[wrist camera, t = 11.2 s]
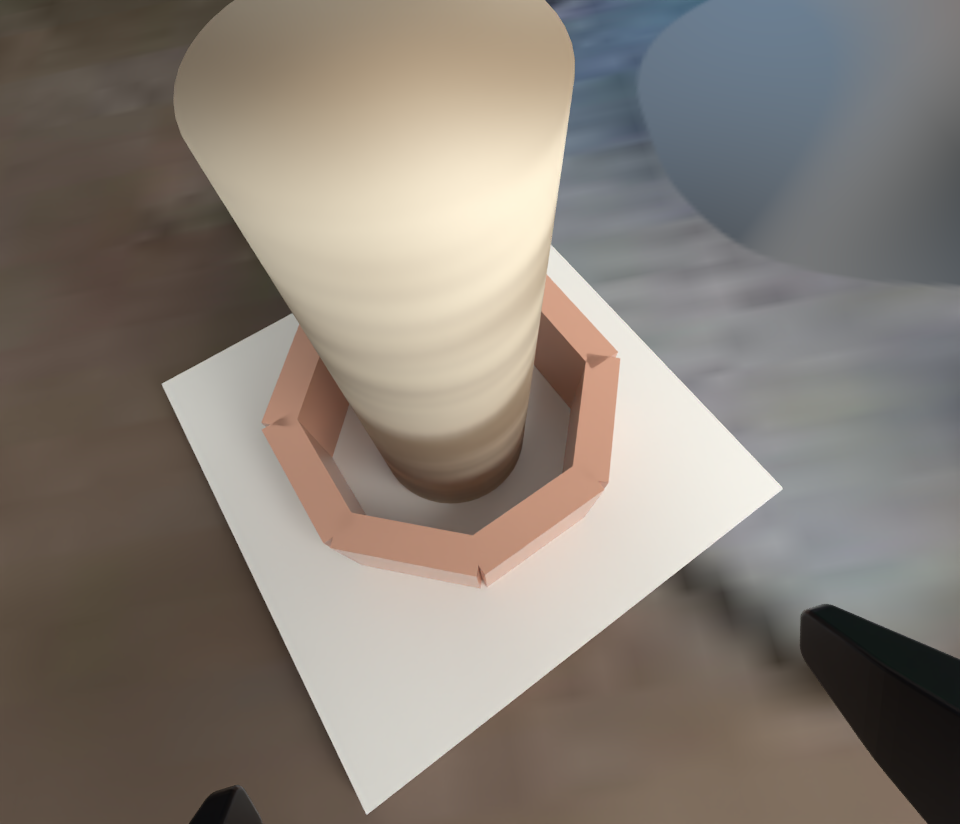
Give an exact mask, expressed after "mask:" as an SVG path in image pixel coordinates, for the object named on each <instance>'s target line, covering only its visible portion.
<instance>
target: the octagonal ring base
mask: <svg viewBox="0 0 960 824" xmlns="http://www.w3.org/2000/svg"><path fill="white" fill-rule="evenodd" d="M162 386H163V388H164V390H165V392H166V394H167V396H168V399H169V401H170V403H171V405H172V407H173V409H174V411H175V413H176V415H177V418H178V420H179V422H180V424H181V426H182V428H183V430H184V432H185V434H186V436H187V439H188V441H189V443H190V445H191V447H192V449H193V451H194V453H195V455H196V457H197V460H198V462H199V464H200V466H201V468H202V470H203V472H204V474H205V476H206V478H207V481H208V483H209V485H210V487H211V489H212V491H213V493H214V495H215V497H216V499H217V502H218V504H219V506H220V508H221V510H222V512H223V514H224V516H225V518H226V521H227V523H228V525H229V527H230V529H231V531H232V533H233V535H234V537H235V539H236V542H237V544H238V546H239V548H240V550H241V552H242V554H243V556H244V558H245V560H246V563H247V565H248V567H249V569H250V571H251V573H252V575H253V577H254V579H255V581H256V584H257V586H258V588H259V590H260V592H261V594H262V596H263V598H264V600H265V602H266V605H267V607H268V609H269V611H270V613H271V615H272V617H273V619H274V621H275V624H276V626H277V628H278V630H279V632H280V634H281V636H282V638H283V640H284V642H285V645H286V647H287V649H288V651H289V653H290V655H291V657H292V659H293V661H294V663H295V666H296V668H297V670H298V672H299V674H300V676H301V678H302V680H303V682H304V684H305V687H306V689H307V691H308V693H309V695H310V697H311V699H312V701H313V703H314V706H315V708H316V710H317V712H318V714H319V716H320V718H321V720H322V722H323V724H324V727H325V729H326V731H327V733H328V735H329V737H330V739H331V741H332V743H333V745H334V748H335V750H336V752H337V754H338V756H339V758H340V760H341V762H342V764H343V766H344V769H345V771H346V773H347V775H348V777H349V779H350V781H351V783H352V785H353V787H354V790H355V792H356V794H357V796H358V798H359V800H360V802H361V804H362V806H363V809H364V811H365V813H366V815H367V814H368V813H370V812H371V811H372V810H374V809H375V808H376V807H377V806H379V805H380V804H381V803H382V802H384V801H385V800H386V799H388V798H389V797H390V796H391V795H393V794H394V793H395V792H397V791H398V790H399V789H400V788H402V787H403V786H404V785H405V784H407V783H408V782H409V781H411V780H412V779H413V778H414V777H416V776H417V775H418V774H420V773H421V772H422V771H423V770H425V769H426V768H427V767H428V766H430V765H431V764H432V763H434V762H435V761H436V760H437V759H439V758H440V757H441V756H442V755H444V754H445V753H446V752H448V751H449V750H450V749H451V748H453V747H454V746H455V745H457V744H458V743H459V742H460V741H462V740H463V739H464V738H465V737H467V736H468V735H469V734H471V733H472V732H473V731H474V730H476V729H477V728H478V727H480V726H481V725H482V724H483V723H485V722H486V721H487V720H488V719H490V718H491V717H492V716H494V715H495V714H496V713H497V712H499V711H500V710H501V709H502V708H504V707H505V706H506V705H508V704H509V703H510V702H511V701H513V700H514V699H515V698H517V697H518V696H519V695H520V694H522V693H523V692H524V691H525V690H527V689H528V688H529V687H531V686H532V685H533V684H534V683H536V682H537V681H538V680H539V679H541V678H542V677H543V676H545V675H546V674H547V673H548V672H550V671H551V670H552V669H554V668H555V667H556V666H557V665H559V664H560V663H561V662H562V661H564V660H565V659H566V658H568V657H569V656H570V655H571V654H573V653H574V652H575V651H577V650H578V649H579V648H580V647H582V646H583V645H584V644H585V643H587V642H588V641H589V640H591V639H592V638H593V637H594V636H596V635H597V634H598V633H599V632H601V631H602V630H603V629H605V628H606V627H607V626H608V625H610V624H611V623H612V622H614V621H615V620H616V619H617V618H619V617H620V616H621V615H622V614H624V613H625V612H626V611H628V610H629V609H630V608H631V607H633V606H634V605H635V604H637V603H638V602H639V601H640V600H642V599H643V598H644V597H645V596H647V595H648V594H649V593H651V592H652V591H653V590H654V589H656V588H657V587H658V586H659V585H661V584H662V583H663V582H665V581H666V580H667V579H668V578H670V577H671V576H672V575H674V574H675V573H676V572H677V571H679V570H680V569H681V568H682V567H684V566H685V565H686V564H688V563H689V562H690V561H691V560H693V559H694V558H695V557H696V556H698V555H699V554H700V553H702V552H703V551H704V550H705V549H707V548H708V547H709V546H711V545H712V544H713V543H714V542H716V541H717V540H718V539H719V538H721V537H722V536H723V535H725V534H726V533H727V532H728V531H730V530H731V529H732V528H734V527H735V526H736V525H737V524H739V523H740V522H741V521H742V520H744V519H745V518H746V517H748V516H749V515H750V514H751V513H753V512H754V511H755V510H756V509H758V508H759V507H760V506H762V505H763V504H764V503H765V502H767V501H768V500H769V499H771V498H772V497H773V496H774V495H776V494H777V493H778V492H779V491H781V490H782V489H783V488H782V487H781V486H780V485H779V484H778V482H777V481H776V480H775V479H774V478H773V477H772V476H771V475H770V474H769V473H768V472H767V471H766V470H765V469H764V468H763V467H762V466H761V465H760V464H759V463H758V462H757V460H756V459H755V458H754V457H753V456H752V455H751V454H750V453H749V452H748V451H747V450H746V449H745V448H744V447H743V446H742V445H741V444H740V443H739V442H738V441H737V439H736V438H735V437H734V436H733V435H732V434H731V433H730V432H729V431H728V430H727V429H726V428H725V427H724V426H723V425H722V424H721V423H720V422H719V421H718V420H717V418H716V417H715V416H714V415H713V414H712V413H711V412H710V411H709V410H708V409H707V408H706V407H705V406H704V405H703V404H702V403H701V402H700V401H699V400H698V399H697V397H696V396H695V395H694V394H693V393H692V392H691V391H690V390H689V389H688V388H687V387H686V386H685V385H684V384H683V383H682V382H681V381H680V380H679V379H678V378H677V376H676V375H675V374H674V373H673V372H672V371H671V370H670V369H669V368H668V367H667V366H666V365H665V364H664V363H663V362H662V361H661V360H660V359H659V358H658V357H657V355H656V354H655V353H654V352H653V351H652V350H651V349H650V348H649V347H648V346H647V345H646V344H645V343H644V342H643V341H642V340H641V339H640V338H639V337H638V336H637V334H636V333H635V332H634V331H633V330H632V329H631V328H630V327H629V326H628V325H627V324H626V323H625V322H624V321H623V320H622V319H621V318H620V317H619V316H618V315H617V313H616V312H615V311H614V310H613V309H612V308H611V307H610V306H609V305H608V304H607V303H606V302H605V301H604V300H603V299H602V298H601V297H600V296H599V295H598V294H597V292H596V291H595V290H594V289H593V288H592V287H591V286H590V285H589V284H588V283H587V282H586V281H585V280H584V279H583V278H582V277H581V276H580V275H579V274H578V273H577V271H576V270H575V269H574V268H573V267H572V266H571V265H570V264H569V263H568V262H567V261H566V260H565V259H564V258H563V257H562V256H561V255H560V254H559V253H558V252H557V250H556V249H555V248H554V247H553V246H552V245H551V246H550V253H549V260H548V268H547V275H546V282H545V289H544V296H543V303H542V310H541V317H540V324H539V331H538V338H537V345H536V353H535V360H534V367H533V374H532V381H531V388H530V395H529V402H528V409H527V416H526V423H525V430H524V438H523V444H522V449H521V453H520V456H519V459H518V462H517V464H516V466H515V468H514V469H513V471H512V472H511V474H510V475H509V476H508V477H507V479H506V480H505V481H504V482H503V483H502V484H501V485H499V486H498V487H497V488H496V489H495V490H493V491H491V492H490V493H488V494H487V495H484V496H482V497H480V498H478V499H475V500H472V501H468V502H463V503H452V504H449V503H439V502H434V501H430V500H427V499H424V498H422V497H420V496H418V495H416V494H414V493H412V492H411V491H409V490H408V489H407V488H405V487H404V486H403V485H402V484H401V483H400V482H399V481H398V480H397V478H396V477H395V476H394V474H393V473H392V471H391V470H390V468H389V466H388V465H387V463H386V462H385V460H384V458H383V457H382V455H381V454H380V452H379V450H378V449H377V447H376V446H375V444H374V442H373V441H372V439H371V438H370V436H369V435H368V433H367V431H366V430H365V428H364V427H363V425H362V423H361V422H360V420H359V419H358V417H357V415H356V414H355V412H354V411H353V409H352V407H351V406H350V404H349V403H348V401H347V399H346V398H345V396H344V395H343V393H342V391H341V390H340V388H339V387H338V385H337V383H336V382H335V380H334V379H333V377H332V375H331V374H330V372H329V371H328V369H327V367H326V366H325V364H324V363H323V361H322V360H321V358H320V356H319V355H318V353H317V352H316V350H315V348H314V347H313V345H312V344H311V342H310V340H309V339H308V337H307V336H306V334H305V332H304V331H303V329H302V328H301V326H300V324H299V323H298V321H297V320H296V318H295V316H294V315H293V313H292V314H290V315H288V316H286V317H284V318H283V319H281V320H279V321H277V322H275V323H273V324H272V325H270V326H268V327H266V328H264V329H262V330H260V331H259V332H257V333H255V334H253V335H251V336H249V337H247V338H246V339H244V340H242V341H240V342H238V343H236V344H235V345H233V346H231V347H229V348H227V349H225V350H223V351H222V352H220V353H218V354H216V355H214V356H212V357H210V358H209V359H207V360H205V361H203V362H201V363H199V364H198V365H196V366H194V367H192V368H190V369H188V370H186V371H185V372H183V373H181V374H179V375H177V376H175V377H173V378H172V379H170V380H168V381H166V382H164V383H162Z"/></svg>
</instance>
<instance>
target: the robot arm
mask: <svg viewBox="0 0 960 824" xmlns="http://www.w3.org/2000/svg"><path fill="white" fill-rule="evenodd" d="M800 649H801V653H802V656H803V658H804V660H805V662H806V664H807V665H808V667H809V668H810V669H811V671H812V672H813V674H814V675H815V676H816V678H817V679H818V681H819V682H820V684H821V685H822V686H823V688H824V689H825V691H826V692H827V694H828V695H829V696H830V698H831V699H832V701H833V702H834V703H835V705H836V706H837V708H838V709H839V711H840V712H841V713H842V715H843V716H844V718H845V719H846V721H847V722H848V723H849V725H850V726H851V728H852V729H853V730H854V732H855V733H856V735H857V736H858V738H859V739H860V740H861V742H862V743H863V745H864V746H865V747H866V749H867V750H868V751H869V753H870V754H871V755H872V757H873V758H874V759H875V761H876V762H877V763H878V764H879V766H880V767H881V768H882V769H883V771H884V772H885V773H886V774H887V776H888V777H889V778H890V779H891V780H892V782H893V783H894V784H895V785H896V786H897V788H898V789H899V790H900V791H901V792H902V794H903V795H904V796H905V797H906V798H907V800H908V801H909V802H910V803H911V804H912V806H913V807H914V808H915V809H916V810H917V812H918V813H919V814H920V815H921V816H922V818H923V819H924V820H925V821H926V822H927V824H960V659H958V658H955V657H953V656H951V655H948V654H946V653H944V652H941V651H939V650H937V649H934V648H932V647H930V646H927V645H925V644H923V643H920V642H918V641H916V640H913V639H911V638H908V637H906V636H904V635H901V634H899V633H897V632H894V631H892V630H890V629H887V628H885V627H883V626H880V625H878V624H876V623H873V622H871V621H869V620H866V619H864V618H861V617H859V616H857V615H854V614H852V613H850V612H847V611H845V610H843V609H840V608H838V607H836V606H833V605H829V604H822V605H818V606H815V607H812V608H809V609H806V610H804V611H803V612H802V614H801V624H800ZM189 824H262V820H261V817H260V815H259V813H258V812H257V810H256V808H255V807H254V805H253V803H252V801H251V800H250V798H249V796H248V795H247V793H246V791H245V789H244V788H243V787H241V786H239V785H234V786H231V787H228V788H225V789H221V790H218V791H216V792H213V793H212V794H211V795H210V796H209V797H208V798H207V799H206V800H205V801H204V803H203V804H202V805H201V807H200V808H199V810H198V811H197V813H196V814H195V815H194V817H193V818H192V820H191V821H190V823H189Z"/></svg>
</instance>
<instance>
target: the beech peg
mask: <svg viewBox="0 0 960 824" xmlns="http://www.w3.org/2000/svg"><path fill="white" fill-rule="evenodd" d="M574 72H575V58H574V53H573V48H572V43H571V40H570V38H569V35H568V33H567V30H566V28H565V26H564V24H563V23H562V21H561V20H560V18H559V16H558V15H557V13H556V12H555V11H554V10H553V9H552V8H551V6H550V5H549V4H548V3H547V2H546V1H545V0H234V1H233V2H232V3H230V4H229V5H227V6H226V7H225V8H224V9H223V10H222V11H220V12H219V13H218V14H217V15H216V16H215V17H214V18H212V19H211V20H210V22H209V23H208V24H207V25H206V26H205V27H204V28H203V29H202V30H201V32H200V33H199V34H198V35H197V37H196V38H195V40H194V41H193V42H192V44H191V45H190V47H189V48H188V50H187V52H186V54H185V56H184V58H183V60H182V62H181V64H180V67H179V70H178V74H177V77H176V81H175V88H174V100H173V101H174V109H175V118H176V121H177V124H178V127H179V129H180V132H181V135H182V137H183V138H184V140H185V142H186V144H187V145H188V147H189V149H190V150H191V152H192V154H193V155H194V157H195V158H196V160H197V162H198V163H199V165H200V166H201V168H202V170H203V171H204V173H205V174H206V176H207V178H208V179H209V181H210V182H211V184H212V186H213V187H214V189H215V190H216V192H217V194H218V195H219V197H220V198H221V200H222V202H223V203H224V205H225V206H226V208H227V209H228V211H229V213H230V214H231V216H232V217H233V219H234V221H235V222H236V224H237V225H238V227H239V229H240V230H241V232H242V233H243V235H244V237H245V238H246V240H247V241H248V243H249V245H250V246H251V248H252V249H253V251H254V253H255V254H256V256H257V257H258V259H259V261H260V262H261V264H262V265H263V267H264V269H265V270H266V272H267V273H268V275H269V277H270V278H271V280H272V281H273V283H274V284H275V286H276V288H277V289H278V291H279V292H280V294H281V296H282V297H283V299H284V300H285V302H286V304H287V305H288V307H289V308H290V310H291V312H292V313H293V315H294V316H295V318H296V320H297V321H298V323H299V324H300V326H301V328H302V329H303V331H304V332H305V334H306V336H307V337H308V339H309V340H310V342H311V344H312V345H313V347H314V348H315V350H316V352H317V353H318V355H319V356H320V358H321V360H322V361H323V363H324V364H325V366H326V367H327V369H328V371H329V372H330V374H331V375H332V377H333V379H334V380H335V382H336V383H337V385H338V387H339V388H340V390H341V391H342V393H343V395H344V396H345V398H346V399H347V401H348V403H349V404H350V406H351V407H352V409H353V411H354V412H355V414H356V415H357V417H358V419H359V420H360V422H361V423H362V425H363V427H364V428H365V430H366V431H367V433H368V435H369V436H370V438H371V439H372V441H373V442H374V444H375V446H376V447H377V449H378V450H379V452H380V454H381V455H382V457H383V458H384V460H385V462H386V463H387V465H388V466H389V468H390V470H391V471H392V473H393V474H394V476H395V477H396V478H397V480H398V481H399V482H400V483H401V484H402V485H403V486H404V487H405V488H407V489H408V490H409V491H411V492H412V493H414V494H416V495H418V496H420V497H422V498H424V499H427V500H430V501H434V502H439V503H449V504H452V503H463V502H468V501H472V500H475V499H478V498H480V497H482V496H484V495H487V494H488V493H490V492H491V491H493V490H495V489H496V488H497V487H498V486H499V485H501V484H502V483H503V482H504V481H505V480H506V479H507V477H508V476H509V475H510V474H511V472H512V471H513V469H514V468H515V466H516V464H517V462H518V459H519V456H520V453H521V449H522V444H523V438H524V430H525V423H526V416H527V409H528V402H529V395H530V388H531V381H532V374H533V367H534V360H535V353H536V345H537V338H538V331H539V324H540V317H541V310H542V303H543V296H544V289H545V282H546V275H547V268H548V260H549V253H550V246H551V239H552V232H553V225H554V218H555V211H556V204H557V197H558V190H559V182H560V175H561V168H562V161H563V154H564V147H565V140H566V133H567V126H568V119H569V112H570V104H571V97H572V90H573V83H574Z"/></svg>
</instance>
